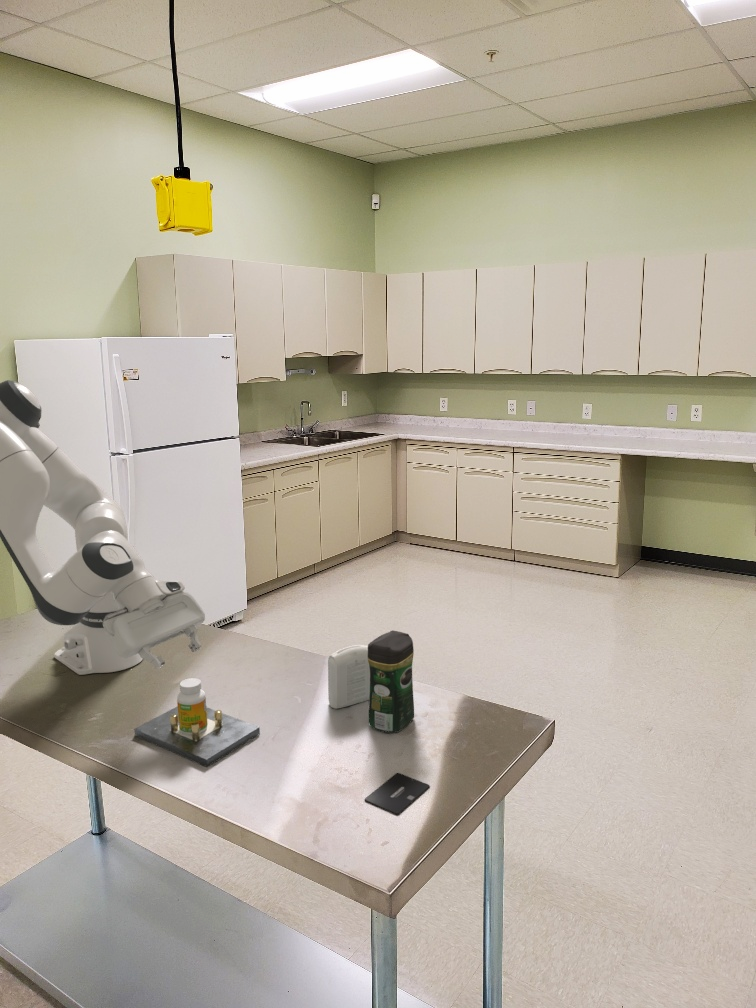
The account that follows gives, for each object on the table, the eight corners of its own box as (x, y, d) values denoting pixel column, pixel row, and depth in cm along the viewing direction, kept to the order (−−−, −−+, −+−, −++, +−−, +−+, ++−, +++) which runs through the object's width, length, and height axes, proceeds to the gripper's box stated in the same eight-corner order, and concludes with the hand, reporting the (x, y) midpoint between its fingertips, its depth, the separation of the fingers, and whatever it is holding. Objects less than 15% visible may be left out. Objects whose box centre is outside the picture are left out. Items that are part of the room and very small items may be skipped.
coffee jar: (386, 707, 161) (385, 624, 157) (419, 717, 157) (420, 632, 153) (361, 728, 153) (360, 640, 149) (395, 738, 149) (395, 649, 145)
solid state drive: (430, 788, 133) (430, 785, 133) (397, 817, 125) (397, 814, 125) (397, 775, 137) (397, 772, 137) (363, 802, 129) (363, 799, 129)
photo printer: (366, 691, 168) (365, 638, 166) (377, 698, 165) (376, 644, 162) (325, 703, 163) (324, 649, 160) (335, 711, 159) (334, 656, 157)
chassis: (134, 735, 151) (133, 714, 150) (189, 707, 162) (187, 687, 161) (206, 767, 140) (205, 744, 139) (259, 734, 151) (258, 713, 150)
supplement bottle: (178, 736, 147) (174, 690, 145) (180, 723, 152) (177, 677, 150) (207, 734, 148) (203, 687, 146) (208, 720, 153) (205, 675, 151)
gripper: (104, 608, 144) (143, 669, 141) (187, 579, 160) (224, 632, 157) (92, 626, 147) (129, 685, 144) (174, 595, 164) (209, 648, 161)
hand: (179, 657), depth 151 cm, fingers open, 8 cm apart
